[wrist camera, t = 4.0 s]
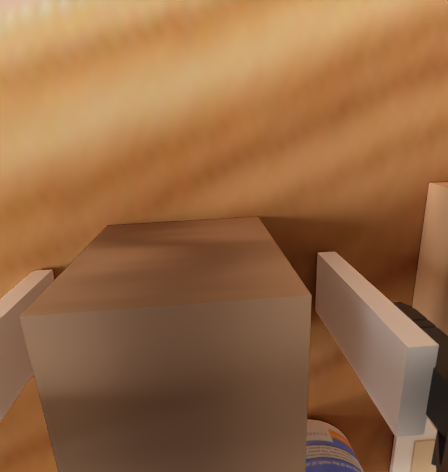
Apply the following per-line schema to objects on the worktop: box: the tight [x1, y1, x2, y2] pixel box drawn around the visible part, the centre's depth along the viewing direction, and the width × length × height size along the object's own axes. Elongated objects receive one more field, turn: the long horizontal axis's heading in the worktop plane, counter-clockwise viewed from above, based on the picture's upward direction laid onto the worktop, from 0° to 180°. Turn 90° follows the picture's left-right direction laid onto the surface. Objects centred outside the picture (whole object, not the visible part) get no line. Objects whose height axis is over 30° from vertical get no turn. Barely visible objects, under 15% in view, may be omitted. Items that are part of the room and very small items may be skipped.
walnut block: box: [19, 216, 312, 472], centre depth 11 cm, size 6×6×7 cm
